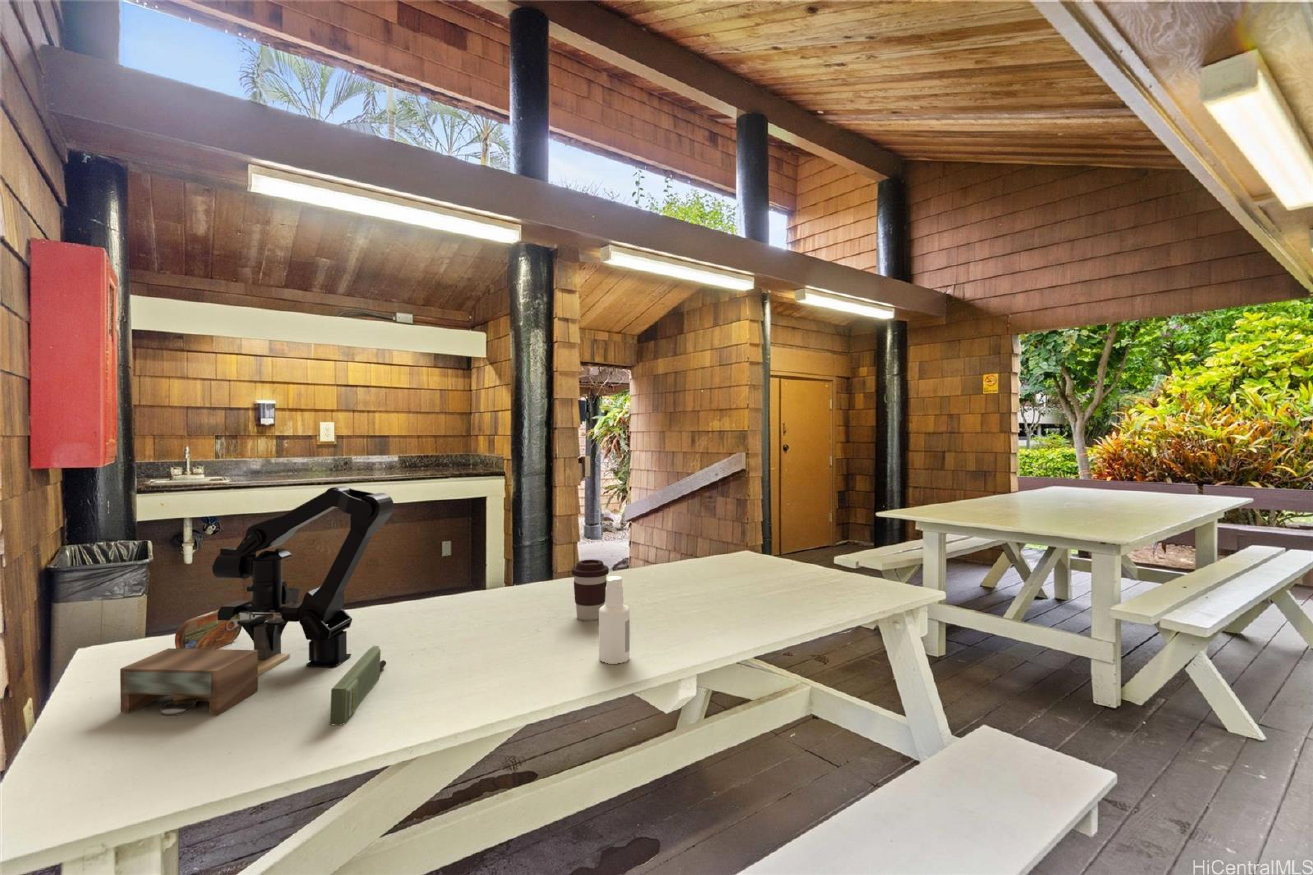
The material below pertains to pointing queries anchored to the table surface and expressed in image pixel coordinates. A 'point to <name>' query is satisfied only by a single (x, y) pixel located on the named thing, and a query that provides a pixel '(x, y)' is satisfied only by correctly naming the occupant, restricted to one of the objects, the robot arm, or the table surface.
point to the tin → (207, 632)
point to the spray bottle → (614, 624)
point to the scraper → (265, 657)
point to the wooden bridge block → (191, 677)
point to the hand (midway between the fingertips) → (267, 649)
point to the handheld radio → (355, 685)
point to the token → (178, 707)
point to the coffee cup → (589, 588)
